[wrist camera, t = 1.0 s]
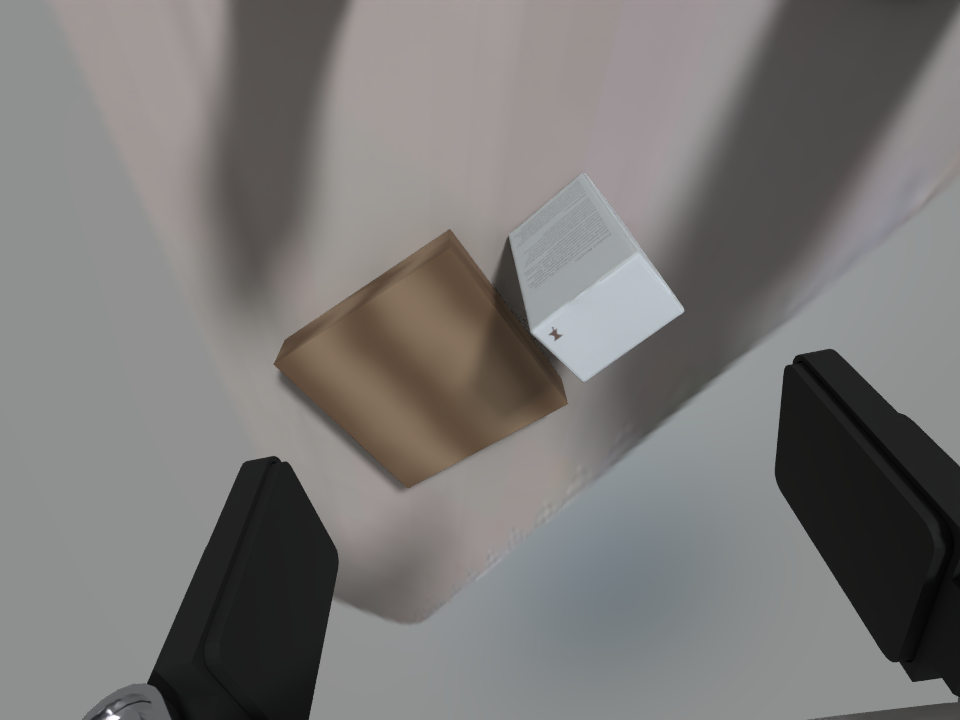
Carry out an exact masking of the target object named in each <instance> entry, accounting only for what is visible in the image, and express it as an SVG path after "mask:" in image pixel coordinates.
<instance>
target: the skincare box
mask: <svg viewBox="0 0 960 720" xmlns="http://www.w3.org/2000/svg"><path fill="white" fill-rule="evenodd" d="M509 240H510V245H511V249H512V254H513V258H514V262H515V267H516V271H517V276H518V280H519V284H520V288H521V293H522V297H523V302H524V306H525V310H526V314H527V319H528V324H529V329H530V333H531V334H532V335H533V336H534V337H535V338H536V339H538V340H539V341H540V342H541V343H542V344H543V345H544V346H545V347H546V348H547V349H548V350H549V351H550V352H551V353H552V354H553V355H555V356H556V357H557V358H558V359H559V360H560V361H561V362H562V363H563V364H564V365H565V366H566V367H567V368H568V369H569V370H570V371H571V372H572V373H573V374H574V375H575V376H576V377H578V378H579V379H580V380H581V381H582V382H586V381H587V380H589V379H590V378H591V377H593V376H594V375H596V374H597V373H598V372H600V371H601V370H603V369H604V368H605V367H607V366H608V365H610V364H611V363H613V362H614V361H615V360H617V359H618V358H620V357H621V356H622V355H624V354H625V353H627V352H628V351H629V350H631V349H632V348H634V347H635V346H636V345H638V344H639V343H641V342H642V341H643V340H645V339H646V338H648V337H649V336H651V335H652V334H653V333H655V332H656V331H658V330H659V329H661V328H662V327H663V326H665V325H666V324H668V323H669V322H670V321H672V320H673V319H675V318H676V317H678V316H679V315H681V314H682V313H684V308H683V306H682V305H681V303H680V302H679V300H678V299H677V298H676V296H675V295H674V293H673V292H672V291H671V289H670V288H669V286H668V285H667V284H666V282H665V281H664V279H663V278H662V277H661V275H660V274H659V272H658V271H657V270H656V268H655V267H654V265H653V264H652V263H651V261H650V260H649V258H648V257H647V256H646V254H645V253H644V251H643V250H642V249H641V247H640V246H639V244H638V243H637V241H636V240H635V239H634V237H633V236H632V234H631V233H630V231H629V230H628V229H627V227H626V226H625V224H624V223H623V221H622V220H621V219H620V217H619V216H618V215H617V213H616V212H615V211H614V209H613V208H612V207H611V205H610V204H609V203H608V202H607V200H606V199H605V198H604V196H603V195H602V194H601V193H600V191H599V190H598V189H597V187H596V186H595V185H594V184H593V182H592V181H591V180H590V178H589V177H588V176H587V175H586V174H585V173H581V174H580V175H579V176H578V177H577V178H575V179H574V180H573V181H572V182H571V183H570V184H568V185H567V186H566V187H565V188H564V189H562V190H561V191H560V192H559V193H558V194H557V195H555V196H554V197H553V198H552V199H551V200H549V201H548V202H547V203H546V204H545V205H544V206H542V207H541V208H540V209H539V210H538V211H537V212H535V213H534V214H533V215H532V216H531V217H530V218H528V219H527V220H526V221H525V222H524V223H522V224H521V225H520V226H519V227H518V228H516V229H515V230H514V231H513V232H512V233H510V234H509Z"/></svg>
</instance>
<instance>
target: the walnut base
mask: <svg viewBox="0 0 960 720" xmlns="http://www.w3.org/2000/svg"><path fill="white" fill-rule="evenodd" d="M274 365H275V366H276V367H277V368H278V369H279V370H280V371H281V372H283V373H284V374H285V375H286V376H287V377H288V378H289V379H290V380H291V381H292V382H293V383H294V384H295V385H297V386H298V387H299V388H300V389H301V390H302V391H303V392H304V393H305V394H306V395H307V396H308V397H309V398H311V399H312V400H313V401H314V402H315V403H316V404H317V405H318V406H319V407H320V408H321V409H322V410H323V411H325V412H326V413H327V414H328V415H329V416H330V417H331V418H332V419H333V420H334V421H335V422H336V423H338V424H339V425H340V426H341V427H342V428H343V429H344V430H345V431H346V432H347V433H348V434H349V435H350V436H352V437H353V438H354V439H355V440H356V441H357V442H358V443H359V444H360V445H361V446H362V447H363V448H364V449H366V450H367V451H368V452H369V453H370V454H371V455H372V456H373V457H374V458H375V459H376V460H377V461H378V462H380V463H381V464H382V465H383V466H384V467H385V468H386V469H387V470H388V471H389V472H390V473H391V474H393V475H394V476H395V477H396V478H397V479H398V480H399V481H400V482H401V483H402V484H403V485H404V486H405V487H407V488H409V487H411V486H413V485H415V484H417V483H419V482H421V481H423V480H425V479H427V478H428V477H430V476H432V475H434V474H436V473H438V472H440V471H442V470H444V469H445V468H447V467H449V466H451V465H453V464H455V463H457V462H459V461H461V460H463V459H464V458H466V457H468V456H470V455H472V454H474V453H476V452H478V451H480V450H481V449H483V448H485V447H487V446H489V445H491V444H493V443H495V442H497V441H499V440H500V439H502V438H504V437H506V436H508V435H510V434H512V433H514V432H516V431H517V430H519V429H521V428H523V427H525V426H527V425H529V424H531V423H533V422H535V421H536V420H538V419H540V418H542V417H544V416H546V415H548V414H550V413H552V412H553V411H555V410H557V409H559V408H561V407H563V406H565V405H567V404H568V402H567V398H566V395H565V391H564V387H563V383H562V379H561V377H560V376H559V375H558V373H557V372H556V371H555V369H554V368H553V367H552V365H551V364H550V363H549V361H548V360H547V359H546V357H545V356H544V355H543V353H542V352H541V351H540V349H539V348H538V347H537V345H536V344H535V342H534V341H533V340H532V338H531V337H530V336H529V334H528V333H527V332H526V330H525V329H524V328H523V326H522V325H521V324H520V322H519V321H518V320H517V318H516V317H515V316H514V314H513V313H512V312H511V310H510V309H509V308H508V306H507V305H506V303H505V302H504V301H503V299H502V298H501V297H500V295H499V294H498V293H497V291H496V290H495V289H494V287H493V286H492V285H491V283H490V282H489V281H488V279H487V278H486V277H485V275H484V274H483V273H482V271H481V270H480V269H479V267H478V266H477V264H476V263H475V262H474V260H473V259H472V258H471V256H470V255H469V254H468V252H467V251H466V250H465V248H464V247H463V246H462V244H461V243H460V242H459V240H458V239H457V238H456V236H455V235H454V234H453V232H452V231H451V230H450V229H449V230H448V231H446V232H445V233H443V234H442V235H441V236H439V237H438V238H436V239H435V240H433V241H432V242H430V243H429V244H427V245H426V246H424V247H423V248H421V249H420V250H418V251H417V252H415V253H414V254H412V255H411V256H409V257H408V258H406V259H405V260H403V261H402V262H400V263H399V264H397V265H396V266H394V267H393V268H391V269H390V270H388V271H387V272H385V273H384V274H382V275H381V276H379V277H378V278H376V279H375V280H373V281H372V282H370V283H369V284H368V285H366V286H365V287H363V288H362V289H360V290H359V291H357V292H356V293H354V294H353V295H351V296H350V297H348V298H347V299H345V300H344V301H342V302H341V303H339V304H338V305H336V306H335V307H333V308H332V309H330V310H329V311H327V312H326V313H324V314H323V315H321V316H320V317H318V318H317V319H315V320H314V321H312V322H311V323H309V324H308V325H306V326H305V327H303V328H302V329H300V330H299V331H297V332H296V333H295V334H293V335H292V336H290V337H289V338H287V339H286V340H285V341H284V343H283V345H282V347H281V350H280V352H279V354H278V356H277V358H276V360H275V363H274Z"/></svg>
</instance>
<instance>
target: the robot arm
mask: <svg viewBox="0 0 960 720" xmlns="http://www.w3.org/2000/svg"><path fill="white" fill-rule="evenodd" d="M775 477H776V481H777V484H778V487H779V489H780V491H781V492H782V494H783V496H784V497H785V499H786V500H787V502H788V504H789V505H790V507H791V508H792V510H793V511H794V513H795V515H796V516H797V518H798V519H799V521H800V523H801V524H802V526H803V527H804V529H805V531H806V532H807V534H808V535H809V537H810V538H811V540H812V542H813V543H814V545H815V546H816V548H817V549H818V551H819V553H820V554H821V556H822V557H823V559H824V561H825V562H826V564H827V565H828V567H829V569H830V570H831V572H832V573H833V575H834V577H835V578H836V580H837V581H838V583H839V585H840V586H841V588H842V589H843V591H844V592H845V594H846V595H847V597H848V599H849V600H850V602H851V603H852V605H853V607H854V608H855V610H856V611H857V613H858V615H859V616H860V618H861V619H862V621H863V623H864V624H865V626H866V627H867V629H868V631H869V632H870V634H871V635H872V637H873V639H874V640H875V642H876V643H877V645H878V646H879V648H880V650H881V651H882V653H883V654H884V655H885V657H886V658H887V659H889V660H890V661H892V662H900V664H901V665H902V666H903V668H904V670H905V671H906V673H907V674H908V676H909V677H910V679H911V680H912V682H916V681H924V680H931V679H938V678H943V680H944V681H945V683H946V684H947V686H948V687H949V688H950V690H951V692H952V693H953V694H954V695H956V696H958V702H955V703H943V704H934V705H925V706H917V707H908V708H900V709H891V710H882V711H874V712H866V713H857V714H849V715H839V716H831V717H824V718H817V719H809V720H960V467H959V465H958V464H957V463H956V462H955V461H953V459H952V458H951V457H949V456H948V455H947V454H946V453H945V452H944V451H943V450H942V449H941V448H940V447H939V446H938V445H937V444H936V443H935V442H934V441H933V440H932V439H931V438H930V437H929V436H928V435H927V434H926V433H925V432H924V431H923V430H922V429H921V428H920V427H919V426H918V425H917V424H916V423H915V422H914V421H912V420H911V419H910V418H908V417H907V416H906V415H903V414H900V413H898V412H897V411H896V410H895V409H894V408H893V407H892V406H891V405H890V404H889V403H888V402H887V401H886V400H885V399H884V398H883V397H882V396H881V395H880V394H879V393H878V392H877V391H876V390H875V389H874V388H873V387H872V386H871V385H870V384H869V383H868V382H867V381H866V380H865V379H864V378H863V377H862V376H861V375H859V373H858V372H857V371H855V369H854V368H853V367H852V366H851V365H850V364H849V363H848V362H847V361H846V360H844V358H842V357H841V356H840V355H839V354H838V353H837V352H836V351H835V350H832V349H826V350H821V351H816V352H811V353H806V354H801V355H797V356H795V358H794V360H793V364H792V365H787V366H786V367H785V369H784V376H783V386H782V397H781V409H780V419H779V430H778V441H777V452H776V462H775ZM338 564H339V561H338V553H337V550H336V547H335V545H334V544H333V542H332V540H331V538H330V536H329V534H328V533H327V531H326V529H325V527H324V525H323V524H322V522H321V520H320V518H319V516H318V514H317V513H316V511H315V509H314V507H313V505H312V503H311V502H310V500H309V498H308V496H307V494H306V493H305V491H304V489H303V487H302V485H301V483H300V482H299V480H298V478H297V476H296V474H295V472H294V471H293V469H292V467H291V465H290V464H289V463H288V462H281V461H280V459H279V458H278V457H276V456H271V457H266V458H261V459H256V460H251V461H246V462H245V463H243V465H242V467H241V468H240V471H239V473H238V475H237V478H236V480H235V482H234V484H233V487H232V489H231V492H230V494H229V496H228V499H227V501H226V503H225V506H224V508H223V510H222V512H221V515H220V517H219V519H218V522H217V524H216V526H215V529H214V531H213V533H212V536H211V538H210V540H209V543H208V545H207V547H206V549H205V550H204V553H203V555H202V557H201V560H200V562H199V564H198V567H197V569H196V571H195V574H194V576H193V579H192V581H191V583H190V585H189V587H188V590H187V592H186V594H185V597H184V599H183V602H182V604H181V606H180V608H179V611H178V613H177V615H176V618H175V620H174V622H173V625H172V627H171V629H170V632H169V634H168V636H167V639H166V641H165V643H164V645H163V648H162V650H161V652H160V655H159V657H158V659H157V662H156V664H155V666H154V669H153V671H152V673H151V676H150V678H149V680H148V683H147V684H146V683H143V684H132V685H129V686H126V687H124V688H121V689H118V690H116V691H115V692H113V693H112V694H110V695H108V696H107V697H105V698H104V699H102V700H101V701H100V702H99V703H98V704H97V705H96V706H95V707H93V708H92V709H91V710H90V711H89V712H88V713H87V714H86V715H85V717H84V718H83V719H82V720H309V715H310V710H311V705H312V700H313V694H314V689H315V684H316V679H317V674H318V669H319V664H320V659H321V653H322V648H323V643H324V638H325V632H326V628H327V623H328V617H329V612H330V607H331V602H332V597H333V592H334V587H335V581H336V576H337V571H338Z"/></svg>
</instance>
